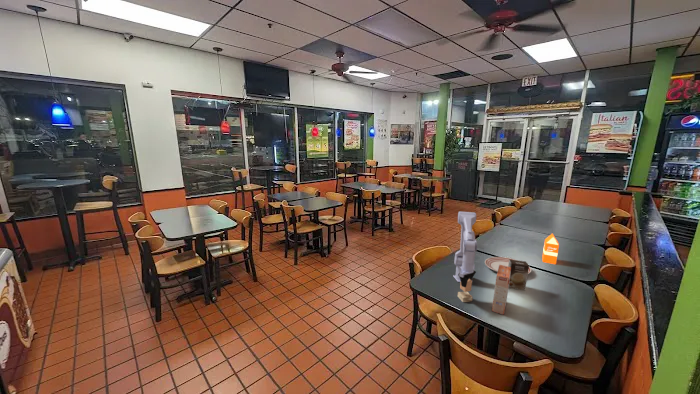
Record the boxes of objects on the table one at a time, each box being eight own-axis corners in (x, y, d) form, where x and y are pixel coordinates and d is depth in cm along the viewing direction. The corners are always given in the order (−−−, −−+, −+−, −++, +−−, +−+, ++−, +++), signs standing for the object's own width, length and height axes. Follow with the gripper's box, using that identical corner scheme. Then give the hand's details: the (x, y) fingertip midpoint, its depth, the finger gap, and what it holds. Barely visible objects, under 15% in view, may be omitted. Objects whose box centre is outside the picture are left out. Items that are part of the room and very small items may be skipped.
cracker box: (504, 315, 134) (509, 278, 130) (491, 311, 138) (495, 274, 133) (506, 301, 146) (511, 266, 141) (494, 298, 149) (498, 263, 144)
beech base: (466, 296, 152) (467, 291, 151) (472, 301, 146) (472, 296, 146) (457, 296, 151) (457, 292, 150) (462, 302, 146) (463, 297, 145)
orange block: (465, 286, 150) (466, 277, 149) (471, 290, 146) (472, 280, 145) (459, 288, 149) (460, 278, 147) (465, 291, 145) (466, 282, 144)
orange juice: (554, 259, 195) (559, 234, 191) (556, 264, 188) (560, 237, 184) (541, 257, 199) (545, 232, 195) (542, 261, 192) (546, 235, 188)
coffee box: (507, 288, 159) (511, 263, 155) (505, 282, 165) (508, 258, 161) (525, 291, 156) (529, 265, 152) (522, 285, 162) (526, 261, 158)
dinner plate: (486, 275, 175) (486, 270, 174) (482, 258, 200) (483, 253, 199) (535, 283, 165) (536, 278, 164) (525, 264, 189) (526, 259, 189)
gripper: (467, 255, 152) (465, 277, 154) (454, 263, 142) (452, 286, 145) (479, 259, 146) (477, 282, 149) (467, 268, 137) (465, 291, 140)
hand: (466, 284), depth 147 cm, fingers closed on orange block, 5 cm apart
